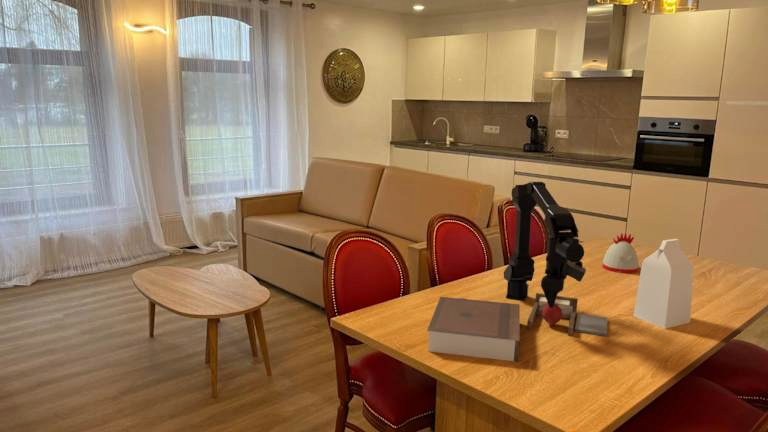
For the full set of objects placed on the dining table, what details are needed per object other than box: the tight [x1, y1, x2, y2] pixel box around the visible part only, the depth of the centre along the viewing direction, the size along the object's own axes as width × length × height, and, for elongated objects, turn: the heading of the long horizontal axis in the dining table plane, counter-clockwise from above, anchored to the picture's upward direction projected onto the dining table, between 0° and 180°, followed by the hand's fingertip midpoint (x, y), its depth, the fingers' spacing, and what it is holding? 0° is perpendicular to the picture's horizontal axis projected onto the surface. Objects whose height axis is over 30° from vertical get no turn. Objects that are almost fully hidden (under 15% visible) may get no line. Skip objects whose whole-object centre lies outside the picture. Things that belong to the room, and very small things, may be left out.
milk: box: [632, 238, 694, 330], centre depth 181 cm, size 12×12×26 cm
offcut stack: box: [537, 297, 573, 320], centre depth 186 cm, size 11×4×4 cm, turn 68°
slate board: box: [574, 313, 609, 337], centre depth 178 cm, size 9×14×1 cm, turn 158°
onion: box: [542, 303, 563, 326], centre depth 176 cm, size 6×6×8 cm
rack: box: [526, 292, 579, 337], centre depth 180 cm, size 13×20×5 cm, turn 158°
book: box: [426, 296, 521, 363], centre depth 167 cm, size 24×28×6 cm
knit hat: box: [601, 232, 640, 274], centre depth 238 cm, size 14×14×15 cm
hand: (552, 302), depth 176 cm, fingers open, 9 cm apart
